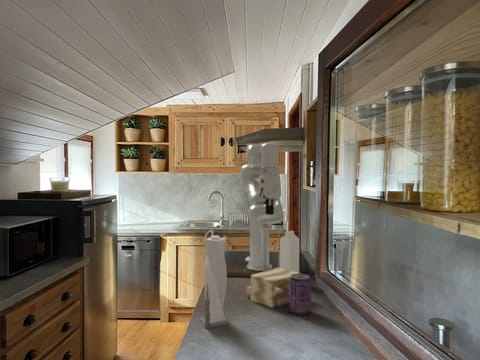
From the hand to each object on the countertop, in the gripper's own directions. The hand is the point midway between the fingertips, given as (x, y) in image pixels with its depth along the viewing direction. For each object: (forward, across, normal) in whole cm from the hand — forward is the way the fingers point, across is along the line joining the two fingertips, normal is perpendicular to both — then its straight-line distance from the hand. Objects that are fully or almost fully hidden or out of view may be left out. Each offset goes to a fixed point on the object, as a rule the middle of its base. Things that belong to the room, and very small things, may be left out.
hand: (269, 214), depth 148 cm
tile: (+30, -15, -12) cm, 35 cm away
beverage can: (+29, -19, -29) cm, 45 cm away
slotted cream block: (+29, -15, -15) cm, 36 cm away
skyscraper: (+29, -44, -14) cm, 55 cm away
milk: (+29, +5, -7) cm, 31 cm away
